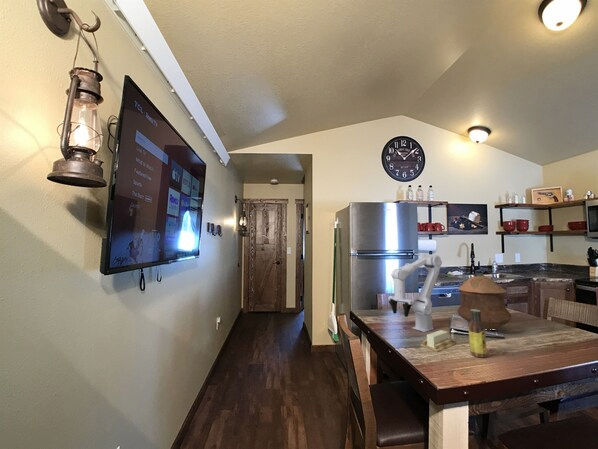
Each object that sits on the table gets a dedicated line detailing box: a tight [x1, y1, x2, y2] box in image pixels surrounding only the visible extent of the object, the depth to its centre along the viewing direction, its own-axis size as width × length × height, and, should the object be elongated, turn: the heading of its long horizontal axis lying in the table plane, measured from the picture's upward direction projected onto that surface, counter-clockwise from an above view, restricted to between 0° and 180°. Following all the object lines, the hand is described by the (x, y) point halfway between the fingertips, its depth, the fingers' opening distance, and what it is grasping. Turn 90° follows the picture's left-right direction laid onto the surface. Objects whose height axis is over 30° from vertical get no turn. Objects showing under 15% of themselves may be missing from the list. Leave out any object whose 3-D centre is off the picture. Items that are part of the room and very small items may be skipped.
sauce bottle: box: [468, 309, 488, 358], centre depth 117 cm, size 7×6×20 cm
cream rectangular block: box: [426, 329, 449, 347], centre depth 128 cm, size 12×4×5 cm, turn 121°
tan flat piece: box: [420, 338, 456, 353], centre depth 128 cm, size 15×8×2 cm, turn 121°
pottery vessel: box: [457, 275, 513, 330], centre depth 151 cm, size 26×26×30 cm
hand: (400, 314), depth 146 cm, fingers open, 7 cm apart
